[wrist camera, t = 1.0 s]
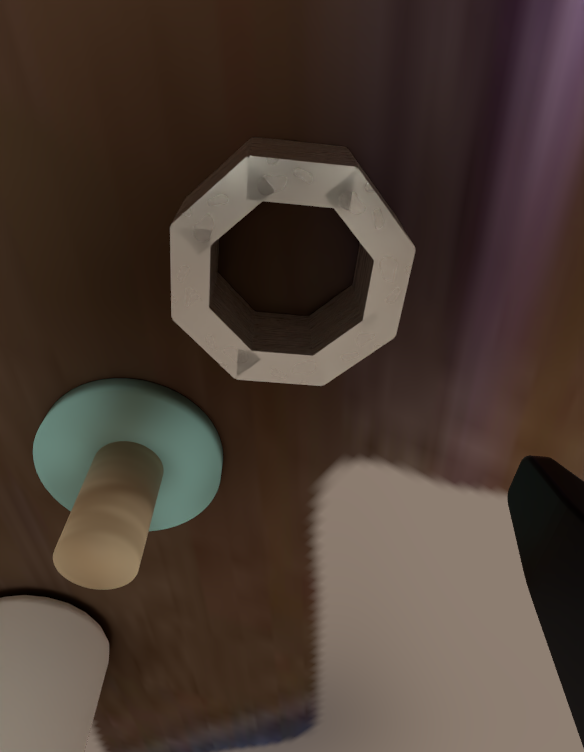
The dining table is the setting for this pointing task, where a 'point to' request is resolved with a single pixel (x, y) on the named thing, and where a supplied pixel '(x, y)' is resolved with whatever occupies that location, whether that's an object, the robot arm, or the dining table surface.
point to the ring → (284, 331)
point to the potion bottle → (48, 674)
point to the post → (123, 473)
